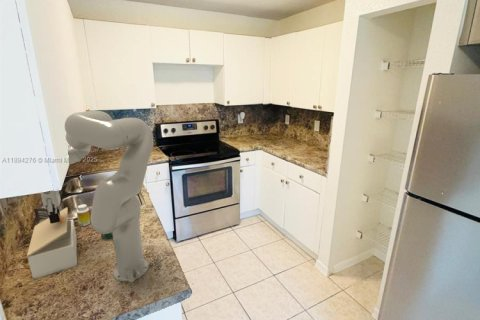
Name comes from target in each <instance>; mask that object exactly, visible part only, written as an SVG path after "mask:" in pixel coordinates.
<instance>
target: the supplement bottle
mask: <svg viewBox="0 0 480 320" xmlns="http://www.w3.org/2000/svg"><path fill="white" fill-rule="evenodd" d="M76 216H77V222H78V225H79V226H80V227H85V226H88V225H90V224H91V219H90V216H91V211H90V209H89V207H88V206H87V204H85V203H83V204H80V205H78V206H77V210H76Z"/></svg>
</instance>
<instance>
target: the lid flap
mask: <svg viewBox="0 0 480 320" xmlns="http://www.w3.org/2000/svg"><path fill="white" fill-rule="evenodd" d="M68 210H69V209H68V207H65V208H62V210H61V211H60V214H59V213H58V212H57V213H58V214H59V218H60V222H57V223H52V224H51V223H50V220H49V218H48V219H46V220H44V221H43V222H41V223H39V224H38V225H37V224H36V225H34V227H33V231H32V235H31V239H30V242H29V246H28V250H27V254H26V257H27V258H28V257H29V256H30V255H32V254H34V253H35V252H37V251H38V250H40V249H42V248H43V247H45V246H46V245H48V244H50V243H51V242H53V241H55V240H56V239H58V238H59V237H61V236H63V235H64V234H66V233H67V220H68V213H69V211H68Z"/></svg>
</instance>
